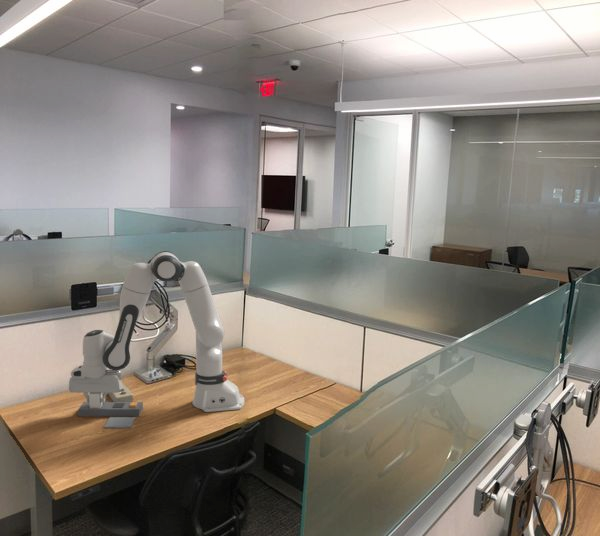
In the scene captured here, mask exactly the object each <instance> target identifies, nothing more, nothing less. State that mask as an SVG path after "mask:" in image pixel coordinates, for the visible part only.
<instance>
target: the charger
mask: <svg viewBox="0 0 600 536" xmlns="http://www.w3.org/2000/svg"><path fill="white" fill-rule="evenodd" d="M88 395H89V404H90V408H101V407H102V406H103V402H100V401H101V400H100V399H101V397H103V393H88Z"/></svg>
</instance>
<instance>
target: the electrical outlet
mask: <svg viewBox="0 0 600 536" xmlns="http://www.w3.org/2000/svg"><path fill="white" fill-rule="evenodd" d="M121 384H122V388H121V390H120V391H119V392H118V393H108V394H107V395H108V396H109V397H110V399H111V400H112V402H134V394H133V393H132V392H131V391H130V389H129V388H128V386H127V385H125V384H124V383H123V382H122V381H121Z"/></svg>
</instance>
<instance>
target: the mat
mask: <svg viewBox="0 0 600 536" xmlns="http://www.w3.org/2000/svg"><path fill="white" fill-rule="evenodd" d="M108 418H109V419H108V420H107V422H106V423H105V424H104V427H103V428H104V429H131V428H132V426H133V425H134V422H135V421H134V420H136V419H135V418H136V416H109V417H108Z"/></svg>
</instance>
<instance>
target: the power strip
mask: <svg viewBox="0 0 600 536" xmlns="http://www.w3.org/2000/svg"><path fill="white" fill-rule="evenodd" d="M143 410H144V402H143V401H133V402H113V401H105V402H103V406H102V407H101V408H90V404H89V402H87V401H83V402H82V404H81V405H80V407H78V409H77V414H78V417H140V415H141V413H142V411H143Z"/></svg>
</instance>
